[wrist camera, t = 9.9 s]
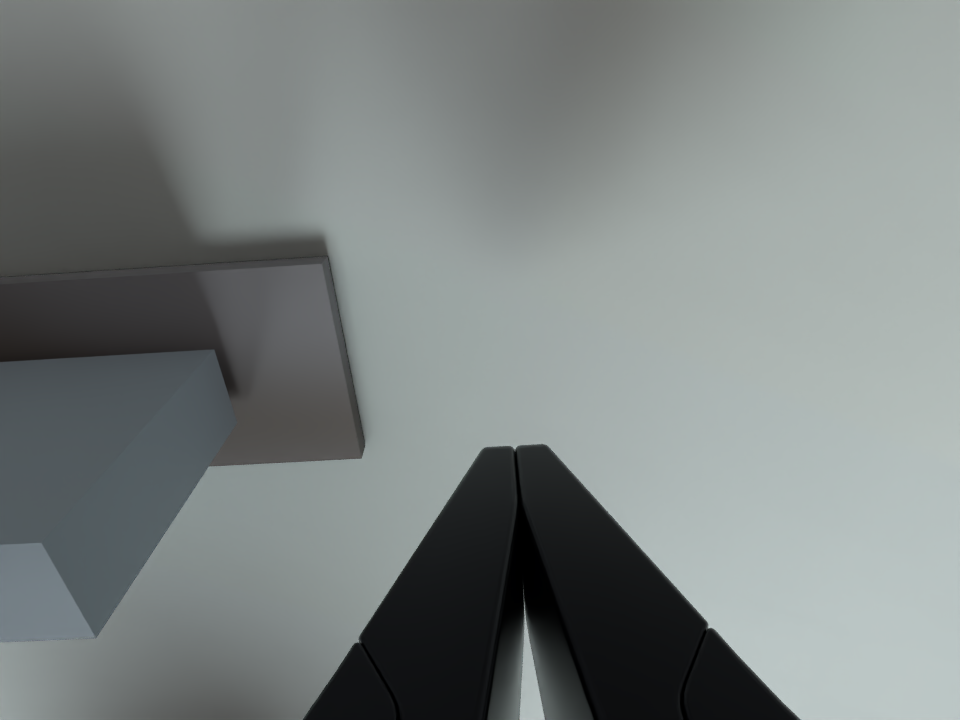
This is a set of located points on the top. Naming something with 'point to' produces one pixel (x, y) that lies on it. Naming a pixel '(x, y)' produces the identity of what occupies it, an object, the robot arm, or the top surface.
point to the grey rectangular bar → (210, 342)
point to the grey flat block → (96, 478)
